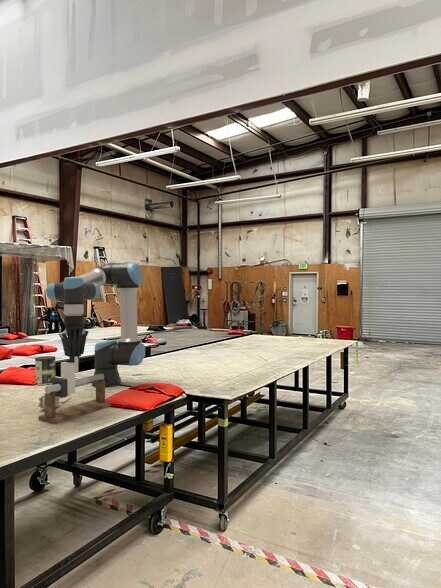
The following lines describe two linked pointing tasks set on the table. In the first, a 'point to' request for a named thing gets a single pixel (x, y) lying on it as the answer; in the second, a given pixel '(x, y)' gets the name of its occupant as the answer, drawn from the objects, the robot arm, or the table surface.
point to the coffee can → (45, 369)
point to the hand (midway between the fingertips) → (74, 372)
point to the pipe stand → (74, 410)
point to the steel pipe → (78, 383)
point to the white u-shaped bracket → (69, 375)
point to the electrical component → (42, 399)
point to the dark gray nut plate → (63, 386)
